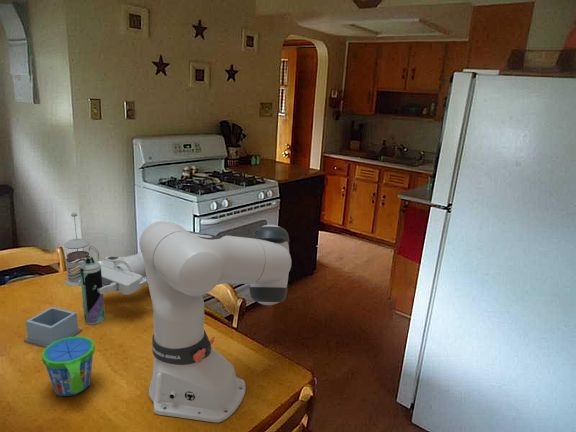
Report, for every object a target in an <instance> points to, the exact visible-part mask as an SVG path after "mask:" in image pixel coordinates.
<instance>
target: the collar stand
mask: <svg viewBox="0 0 576 432" xmlns="http://www.w3.org/2000/svg"><path fill="white" fill-rule="evenodd" d="M77 314H78V313H77V312H76V311H75V312H74V311H71V310H68V309H67V310H66V309H63V308H60V307H59V308H58V307H55V306H51V307H49V308H47V309H46V310H43V311H42V312H40V313H38V314H37V315H34V316H33V317H31V318H29V319H27V320H26V321H25V327H26V333H27V337H25V338H24V339H23V342H24V343H27V344H31V345H34V346H36V347H37V346H38V347H42V348H44V349H45V348H46V347H47V346H49V345H50V344H52V343H53V342H55V341H58V340H60V339H64V338H67V337H75V336H77V335H79V334H80V333H82V332H83V328H79V324H78V323H79V322H78V315H77Z"/></svg>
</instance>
